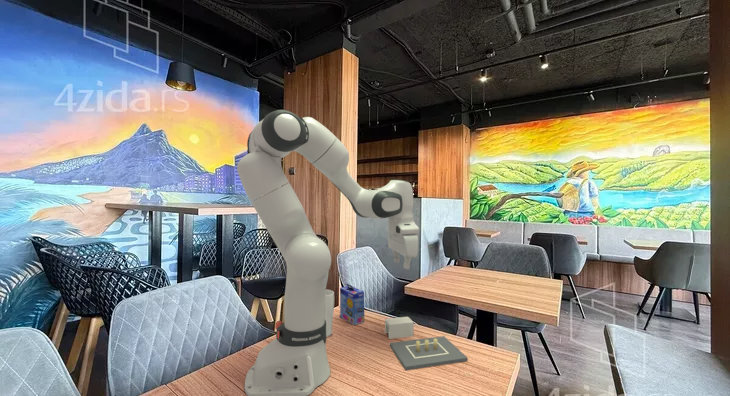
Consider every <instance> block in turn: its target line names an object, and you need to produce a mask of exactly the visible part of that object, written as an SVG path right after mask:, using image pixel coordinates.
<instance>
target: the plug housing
mask: <svg viewBox="0 0 730 396" xmlns="http://www.w3.org/2000/svg"><path fill="white" fill-rule="evenodd" d="M386 333H387V334H388V339H389V340H392V339H401V338H409V337H413V336H414V321H413V320H412V319H411V318H410V317H409V316H401V317H400V316H399V317H392V318H391V317H390V318H385V319H384V334H386Z"/></svg>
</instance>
